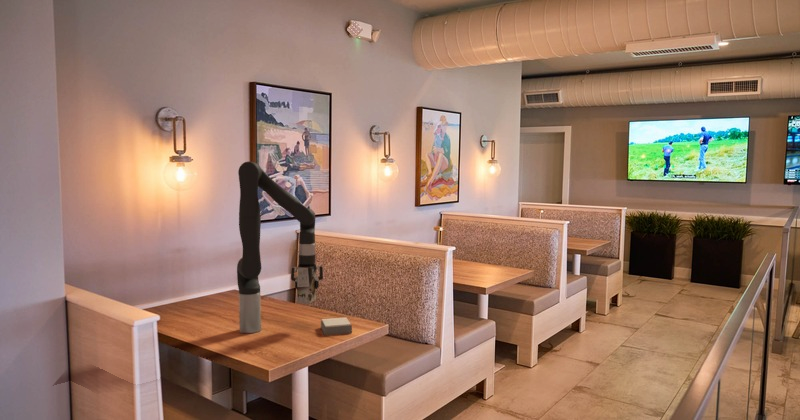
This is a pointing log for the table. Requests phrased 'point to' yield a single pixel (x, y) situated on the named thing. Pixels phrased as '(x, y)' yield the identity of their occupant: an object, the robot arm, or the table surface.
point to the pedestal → (336, 326)
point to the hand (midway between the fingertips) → (306, 289)
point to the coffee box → (306, 284)
